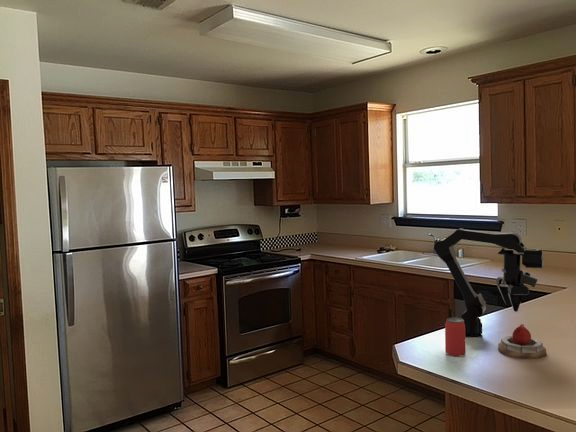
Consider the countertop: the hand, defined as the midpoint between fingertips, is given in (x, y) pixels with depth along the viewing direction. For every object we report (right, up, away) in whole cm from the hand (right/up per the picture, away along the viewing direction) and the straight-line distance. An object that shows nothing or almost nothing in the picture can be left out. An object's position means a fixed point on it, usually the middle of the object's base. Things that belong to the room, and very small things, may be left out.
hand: (511, 308), depth 181 cm
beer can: (-25, -14, -13) cm, 31 cm away
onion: (-2, -11, -12) cm, 17 cm away
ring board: (-2, -13, -12) cm, 18 cm away
